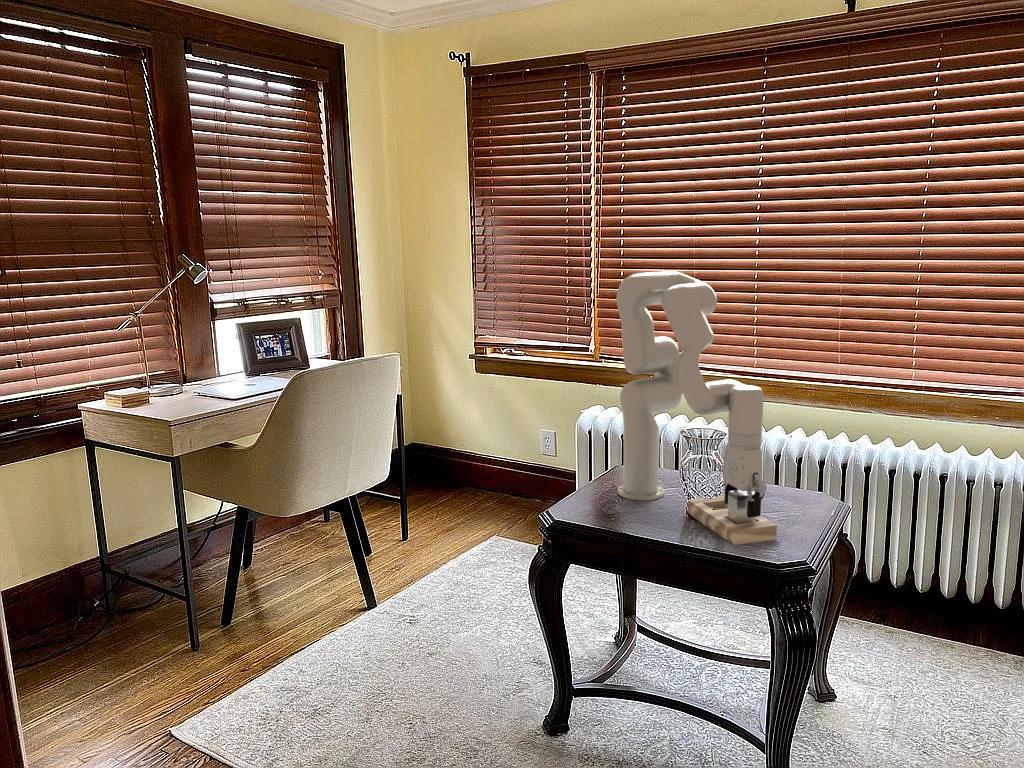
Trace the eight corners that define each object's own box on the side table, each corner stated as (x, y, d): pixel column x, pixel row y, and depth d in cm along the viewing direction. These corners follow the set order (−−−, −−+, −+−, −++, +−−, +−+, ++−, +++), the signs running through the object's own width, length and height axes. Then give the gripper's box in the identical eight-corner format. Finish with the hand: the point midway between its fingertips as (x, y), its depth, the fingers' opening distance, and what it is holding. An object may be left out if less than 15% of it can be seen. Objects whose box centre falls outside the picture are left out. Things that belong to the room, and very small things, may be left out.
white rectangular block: (727, 531, 190) (728, 490, 188) (745, 528, 192) (747, 488, 190) (735, 537, 187) (737, 496, 185) (754, 534, 188) (756, 494, 186)
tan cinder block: (687, 513, 203) (687, 499, 202) (726, 508, 206) (726, 495, 205) (734, 545, 182) (734, 530, 181) (776, 539, 185) (776, 524, 184)
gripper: (710, 431, 192) (708, 499, 195) (751, 450, 175) (748, 524, 179) (738, 428, 194) (736, 496, 197) (780, 447, 177) (777, 520, 181)
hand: (741, 509), depth 188 cm, fingers open, 9 cm apart
